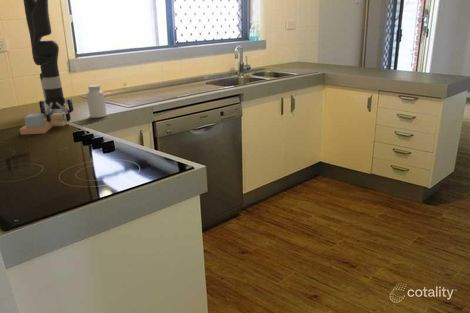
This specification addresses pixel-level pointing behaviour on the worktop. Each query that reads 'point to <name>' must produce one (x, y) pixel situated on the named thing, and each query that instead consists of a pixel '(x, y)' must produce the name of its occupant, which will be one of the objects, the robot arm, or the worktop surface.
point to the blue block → (34, 120)
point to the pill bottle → (96, 102)
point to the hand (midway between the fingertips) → (59, 121)
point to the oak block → (58, 119)
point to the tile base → (36, 129)
